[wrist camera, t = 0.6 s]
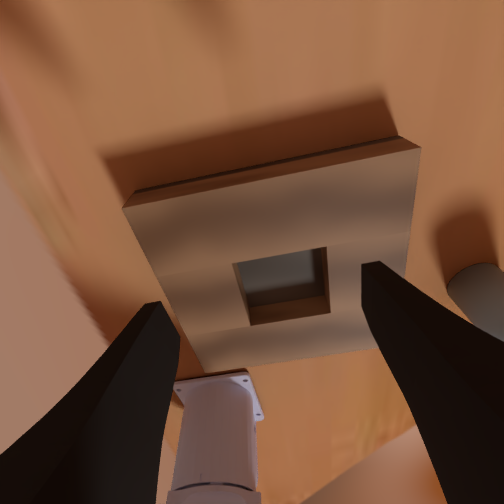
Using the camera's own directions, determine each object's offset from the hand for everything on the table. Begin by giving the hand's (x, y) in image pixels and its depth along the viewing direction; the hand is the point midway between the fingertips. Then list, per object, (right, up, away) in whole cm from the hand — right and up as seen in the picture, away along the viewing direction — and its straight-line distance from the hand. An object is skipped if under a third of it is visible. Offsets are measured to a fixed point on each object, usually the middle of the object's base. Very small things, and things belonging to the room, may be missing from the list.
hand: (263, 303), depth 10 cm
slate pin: (+17, -1, +13) cm, 22 cm away
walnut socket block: (+2, +1, +11) cm, 11 cm away
